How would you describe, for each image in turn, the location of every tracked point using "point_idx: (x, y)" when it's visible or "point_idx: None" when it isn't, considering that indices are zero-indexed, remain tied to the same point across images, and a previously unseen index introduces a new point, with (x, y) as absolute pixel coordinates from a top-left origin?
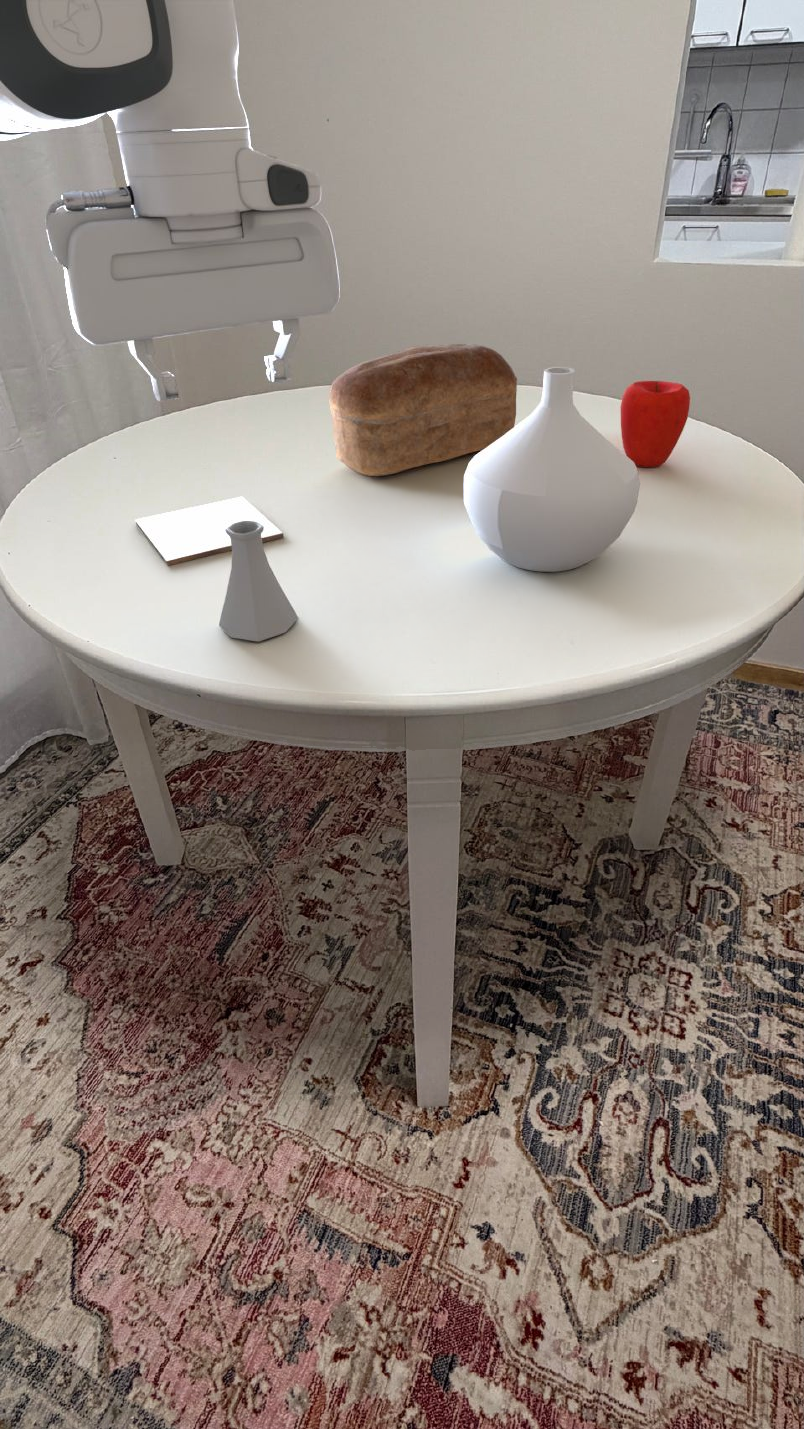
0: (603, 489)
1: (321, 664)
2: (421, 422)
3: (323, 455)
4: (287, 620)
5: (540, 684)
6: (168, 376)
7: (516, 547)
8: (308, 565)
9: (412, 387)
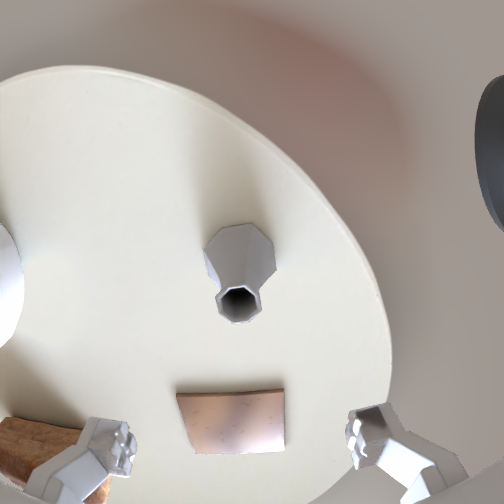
0: None
1: (209, 161)
2: (46, 447)
3: None
4: (216, 239)
5: (71, 70)
6: (377, 441)
7: (3, 233)
8: (166, 341)
9: None
